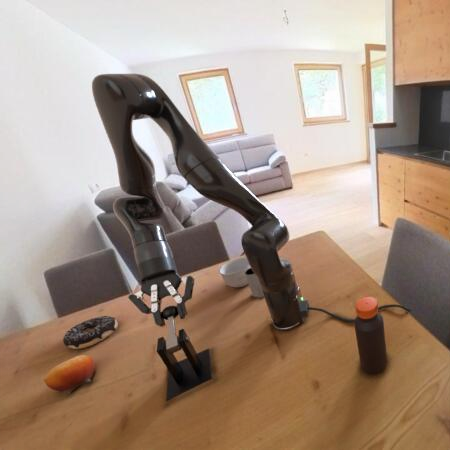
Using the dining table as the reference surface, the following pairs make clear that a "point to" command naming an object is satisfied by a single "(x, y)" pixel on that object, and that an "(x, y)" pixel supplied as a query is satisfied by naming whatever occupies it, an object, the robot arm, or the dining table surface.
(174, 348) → the lever
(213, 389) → the dining table surface
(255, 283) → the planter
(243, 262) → the teacup
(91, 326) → the donut
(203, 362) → the bracket
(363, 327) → the bottle
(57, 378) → the fruit
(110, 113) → the robot arm
